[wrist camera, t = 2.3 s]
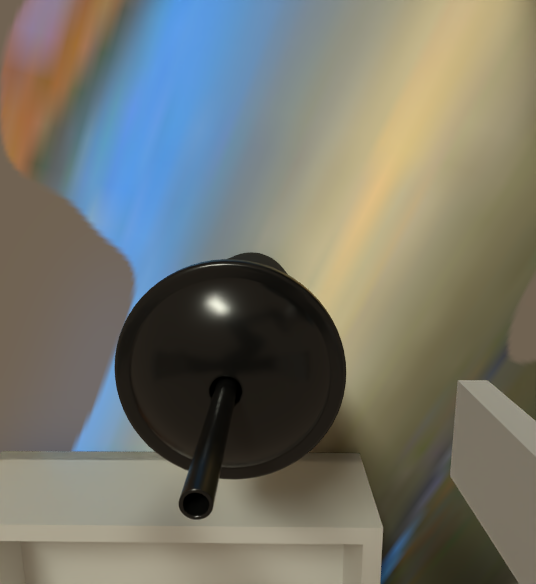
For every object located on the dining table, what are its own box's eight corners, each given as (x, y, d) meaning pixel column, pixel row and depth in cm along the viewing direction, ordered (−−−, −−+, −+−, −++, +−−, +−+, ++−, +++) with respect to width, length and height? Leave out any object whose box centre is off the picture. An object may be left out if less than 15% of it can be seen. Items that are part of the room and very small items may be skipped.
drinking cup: (286, 367, 29) (305, 711, 10) (174, 325, 29) (-43, 596, 9) (333, 256, 28) (466, 401, 8) (214, 210, 27) (58, 247, 8)
